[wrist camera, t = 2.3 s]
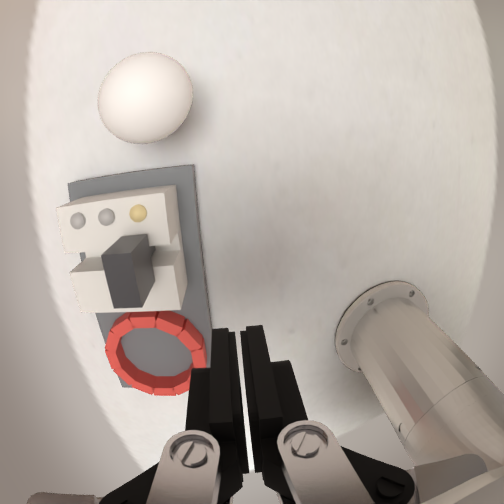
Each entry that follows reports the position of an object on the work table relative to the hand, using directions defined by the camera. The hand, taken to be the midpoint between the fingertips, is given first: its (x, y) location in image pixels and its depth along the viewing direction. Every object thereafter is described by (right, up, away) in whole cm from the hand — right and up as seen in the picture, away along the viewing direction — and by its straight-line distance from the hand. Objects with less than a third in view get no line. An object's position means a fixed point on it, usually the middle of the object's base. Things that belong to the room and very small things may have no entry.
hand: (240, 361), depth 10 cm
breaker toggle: (-8, +4, +14) cm, 17 cm away
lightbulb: (-7, +16, +14) cm, 22 cm away
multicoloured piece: (-10, 0, +19) cm, 22 cm away
